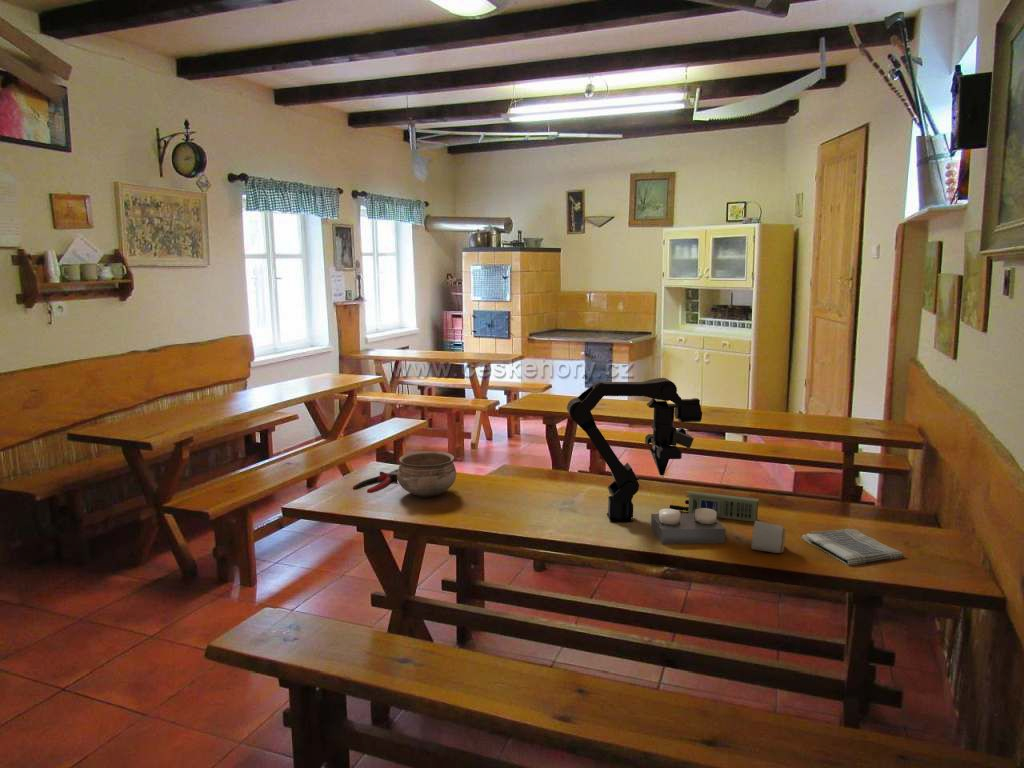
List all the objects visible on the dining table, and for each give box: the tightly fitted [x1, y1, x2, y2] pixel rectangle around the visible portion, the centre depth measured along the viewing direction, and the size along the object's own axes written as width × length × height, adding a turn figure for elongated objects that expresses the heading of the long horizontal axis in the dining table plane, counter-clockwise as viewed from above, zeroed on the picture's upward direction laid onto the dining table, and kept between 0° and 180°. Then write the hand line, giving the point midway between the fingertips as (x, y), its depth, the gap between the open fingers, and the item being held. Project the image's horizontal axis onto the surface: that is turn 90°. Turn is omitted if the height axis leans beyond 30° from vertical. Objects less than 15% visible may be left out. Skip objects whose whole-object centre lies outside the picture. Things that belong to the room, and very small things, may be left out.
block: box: [751, 520, 787, 554], centre depth 181 cm, size 10×8×7 cm
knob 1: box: [658, 508, 681, 525], centre depth 189 cm, size 6×6×6 cm
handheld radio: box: [669, 490, 759, 523], centre depth 205 cm, size 7×3×25 cm
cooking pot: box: [397, 450, 457, 499], centre depth 224 cm, size 25×19×12 cm
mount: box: [650, 512, 726, 545], centre depth 190 cm, size 17×12×4 cm
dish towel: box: [801, 528, 905, 567], centre depth 181 cm, size 19×18×3 cm
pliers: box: [352, 468, 399, 494], centre depth 238 cm, size 3×9×22 cm
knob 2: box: [695, 508, 717, 524], centre depth 190 cm, size 6×6×6 cm
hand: (661, 475), depth 201 cm, fingers closed
